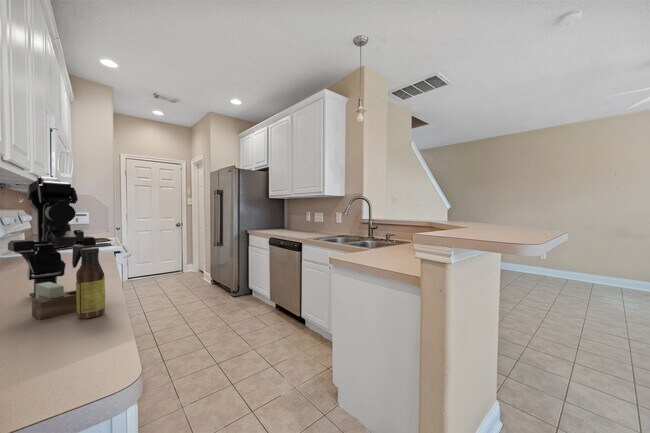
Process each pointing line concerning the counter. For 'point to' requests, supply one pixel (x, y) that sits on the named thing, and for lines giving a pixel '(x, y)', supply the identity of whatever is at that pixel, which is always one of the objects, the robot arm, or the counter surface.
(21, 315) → the counter surface
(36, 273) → the robot arm
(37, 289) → the green block
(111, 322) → the counter surface
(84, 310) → the sauce bottle
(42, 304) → the brown cubby organizer
